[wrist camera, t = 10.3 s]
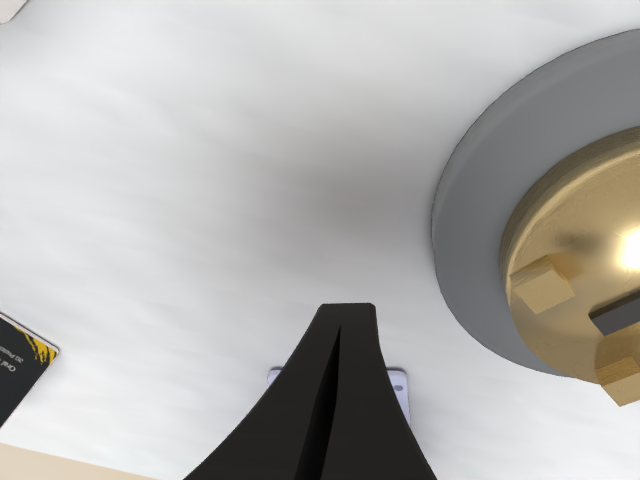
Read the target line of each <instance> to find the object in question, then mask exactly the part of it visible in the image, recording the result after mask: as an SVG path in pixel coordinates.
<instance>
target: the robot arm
mask: <svg viewBox="0 0 640 480" xmlns="http://www.w3.org/2000/svg"><path fill="white" fill-rule="evenodd" d="M267 380H268V384H269V388H268V389H267V390H266V392H265V393H264V394H263V396H262V397H261V398H260V400H259V401H258V402H257V403H256V405H255V406H254V407H253V408H252V409H251V411H250V412H249V413H248V414H247V415H246V417H245V418H244V419H243V420H242V421H241V422H240V423H239V425H238V426H237V427H236V428H235V429H234V430H233V431H232V432H231V433H230V434H229V435H228V436H227V438H226V439H225V440H224V441H223V442H222V443H221V444H220V445H219V446H218V447H217V448H216V449H215V450H214V451H213V452H212V453H211V454H210V455H209V456H208V457H207V458H206V459H205V460H204V461H203V462H202V463H201V464H200V465H199V466H198V467H196V468H195V469H194V470H193V471H192V472H191V473H190V474H189V475H188V476H186V477H185V478H184V479H183V480H437V478H436V476H435V475H434V473H433V471H432V469H431V468H430V466H429V464H428V462H427V460H426V459H425V457H424V455H423V453H422V451H421V449H420V447H419V445H418V443H417V441H416V439H415V437H414V435H413V433H412V431H411V429H410V416H409V401H408V386H407V376H406V374H405V373H403V372H401V371H387V369H386V366H385V362H384V359H383V356H382V353H381V349H380V345H379V336H378V327H377V318H376V308H375V306H374V305H373V304H371V303H338V304H322V305H321V306H320V307H319V308H318V310H317V312H316V314H315V316H314V318H313V320H312V322H311V323H310V325H309V327H308V329H307V331H306V332H305V334H304V336H303V337H302V339H301V341H300V342H299V344H298V345H297V347H296V349H295V350H294V352H293V353H292V355H291V356H290V358H289V359H288V361H287V362H286V364H285V366H284V367H283V368H282V370H272V371H270V372H269V374H268V377H267Z"/></svg>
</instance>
